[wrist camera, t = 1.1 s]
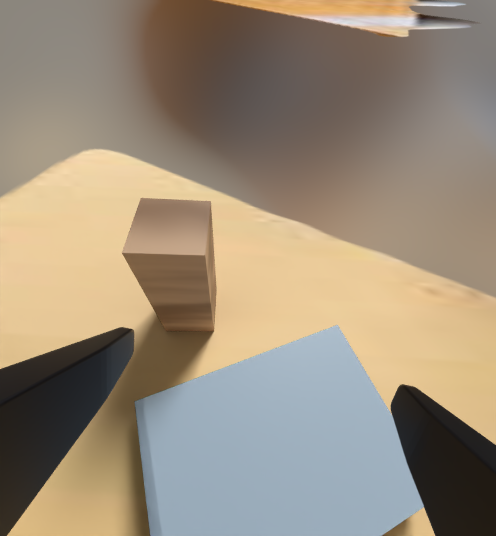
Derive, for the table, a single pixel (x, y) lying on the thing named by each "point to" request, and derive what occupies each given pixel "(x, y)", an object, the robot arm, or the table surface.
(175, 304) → the brown wooden block
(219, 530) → the book
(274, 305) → the table surface
